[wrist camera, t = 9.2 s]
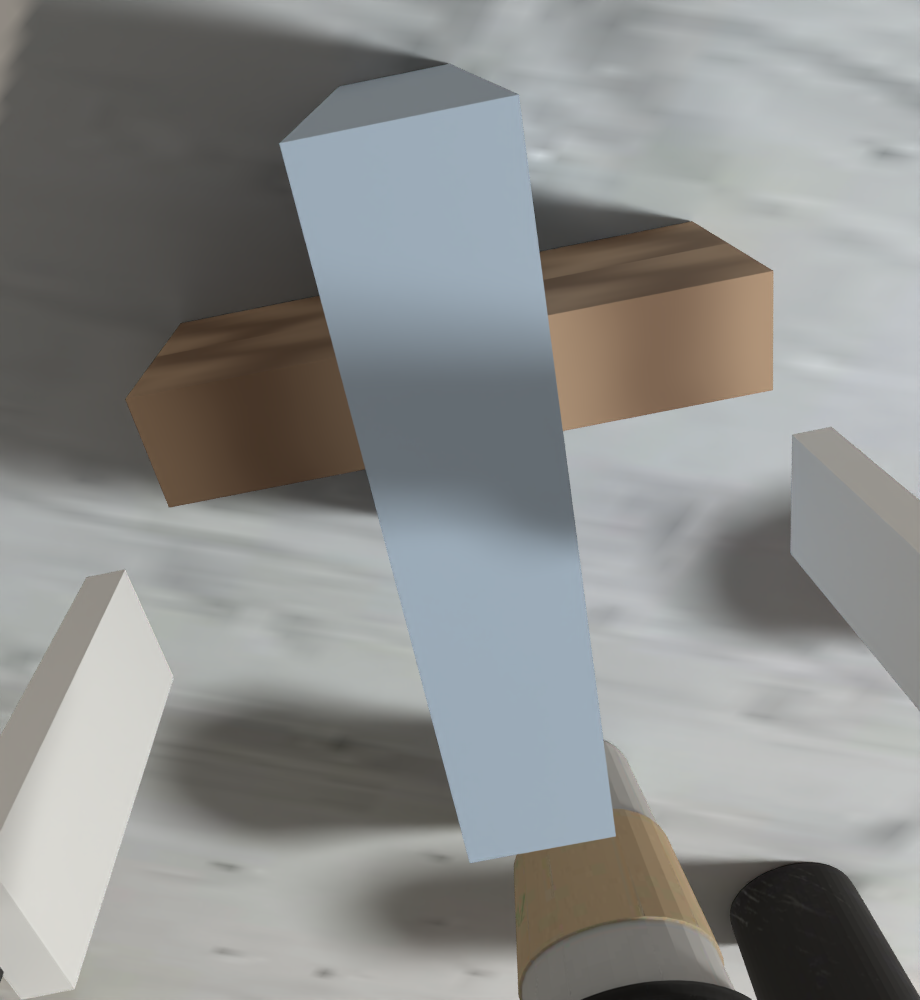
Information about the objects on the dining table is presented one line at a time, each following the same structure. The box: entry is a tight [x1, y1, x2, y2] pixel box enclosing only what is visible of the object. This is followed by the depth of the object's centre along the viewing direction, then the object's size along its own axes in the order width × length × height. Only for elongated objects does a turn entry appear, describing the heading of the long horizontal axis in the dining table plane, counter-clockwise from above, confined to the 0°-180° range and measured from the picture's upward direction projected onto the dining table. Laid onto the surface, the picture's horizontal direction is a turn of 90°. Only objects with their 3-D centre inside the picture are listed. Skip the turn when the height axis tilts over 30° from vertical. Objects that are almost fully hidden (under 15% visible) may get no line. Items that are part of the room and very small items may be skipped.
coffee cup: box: [514, 741, 752, 1000], centre depth 35 cm, size 9×9×15 cm
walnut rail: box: [125, 221, 773, 507], centre depth 27 cm, size 18×4×7 cm, turn 100°
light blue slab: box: [279, 64, 616, 863], centre depth 23 cm, size 4×16×16 cm, turn 10°
